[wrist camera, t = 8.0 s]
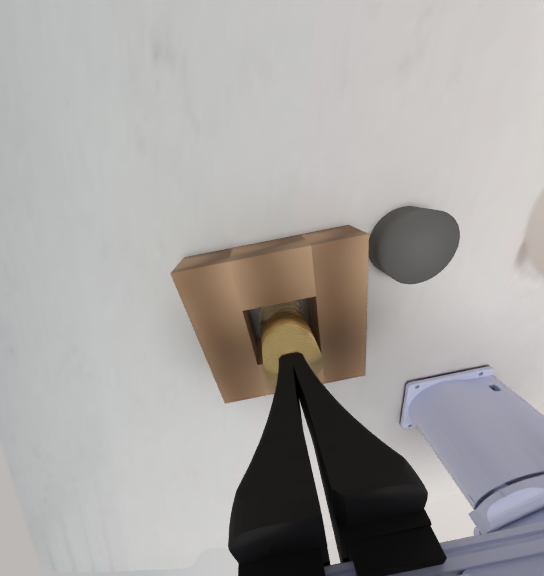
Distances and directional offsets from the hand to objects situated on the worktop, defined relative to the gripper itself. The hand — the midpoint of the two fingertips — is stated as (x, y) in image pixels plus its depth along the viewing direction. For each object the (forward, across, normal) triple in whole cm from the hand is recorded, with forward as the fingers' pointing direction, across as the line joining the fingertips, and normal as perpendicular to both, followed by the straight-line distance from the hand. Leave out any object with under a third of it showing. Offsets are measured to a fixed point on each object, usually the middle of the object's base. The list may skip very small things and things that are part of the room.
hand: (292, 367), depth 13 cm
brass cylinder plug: (+6, 0, 0) cm, 6 cm away
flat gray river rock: (+6, -10, -4) cm, 13 cm away
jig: (+6, 0, 0) cm, 6 cm away
